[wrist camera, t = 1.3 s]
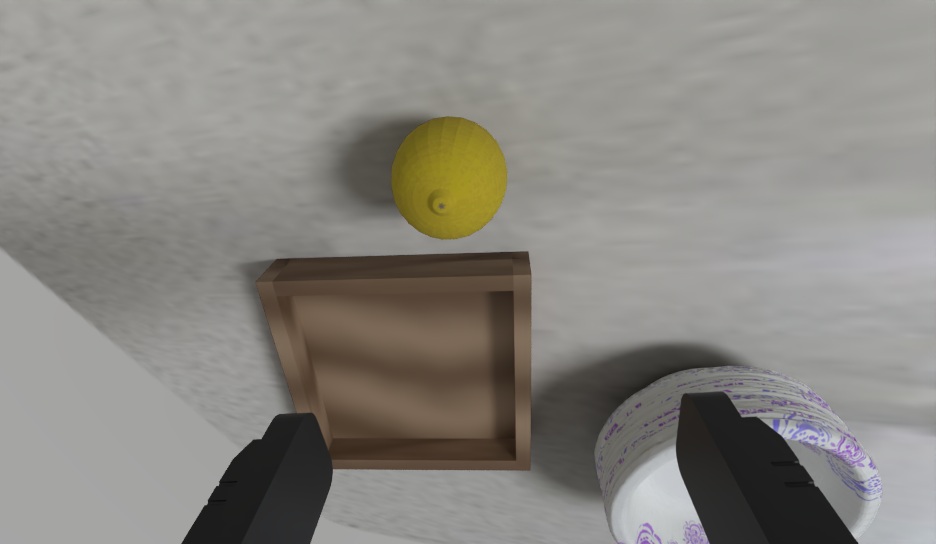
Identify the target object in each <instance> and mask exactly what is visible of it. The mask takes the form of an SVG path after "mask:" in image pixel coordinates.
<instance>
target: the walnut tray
mask: <svg viewBox="0 0 936 544" xmlns="http://www.w3.org/2000/svg"><path fill="white" fill-rule="evenodd" d="M256 285H257V289H258V292H259V295H260V298H261V301H262V304H263V308H264V311H265V314H266V317H267V320H268V323H269V327H270V330H271V333H272V336H273V339H274V342H275V346H276V349H277V352H278V355H279V358H280V361H281V365H282V368H283V371H284V374H285V377H286V380H287V384H288V387H289V390H290V393H291V396H292V399H293V403H294V406H295V409H296V412H297V413H313V414H314V415H315V416H316V418H317V421H318V423H319V426H320V429H321V432H322V434H323V437H324V440H325V442H326V445H327V448H328V451H329V453H330V456H331V459H332V466H333V469H389V470H530V450H531V268H530V261H529V254H528V252H500V253H466V254H433V255H399V256H365V257H332V258H298V259H277V260H276V261H275V262H274V263H273V264H272V265H271V266H270V267H269V268H268V269H267V270H266V271H265V272H264V273H263V275H262V276H261V277H260V278H259V279H258V280H257V281H256Z"/></svg>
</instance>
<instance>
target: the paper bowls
mask: <svg viewBox="0 0 936 544" xmlns="http://www.w3.org/2000/svg"><path fill="white" fill-rule="evenodd" d="M719 391H722V392H724V393H726V394H727V395H728V397H729V398H730V399H731V401H732V403H733V404H734V406H735V407H736V409H737V410H738V412H739V414H740V415H741V417H755V416H757V417H758V418H759V419H761V420H762V421H763V422H764V423H766V424H767V425H768V426H770V427H771V428H772V429H773V430H775V431H776V432H777V433H779V434H780V435H781V436H782V437H783V438H784V440H785V441H786V442H787V444H788V445H789V447H790V448H791V449H792V451H793V452H794V454H795V455H796V456H797V458H798V459H799V463H800V465H803V466H804V468H805V469H806V470H807V472H808V473H809V475H810V476H811V478H812V479H813V480H814V484H815V486H816V487H817V486H818V487H819V489H820V490H821V492H822V493H823V494H824V496H825V497H826V499H827V500H828V501H829V503H830V504H831V506H832V507H833V508H834V510H835V511H836V513H837V514H838V516H839V517H840V518H841V520H842V521H843V523H844V524H845V525H846V527H847V528H848V530H849V531H850V532H851V534H852V535H853V537H854V538H855V539H858V538H859V537H860V536H861V535H862V534H863V532H864V531H865V530H866V529H867V528H868V527H869V525H870V524H871V522H872V521H873V519H874V518H875V516H876V514H877V511H878V509H879V506H880V503H881V498H882V497H881V496H882V483H881V479H880V475H879V472H878V470H877V467H876V465H875V463H874V461H873V459H872V458H871V456H870V455H869V453H868V452H867V451H866V449H865V448H864V447H863V446H862V445H861V444H860V443H859V442H858V440H857V439H856V438H855V437H854V436H853V434H852V433H850V431H849V430H848V428H847V427H846V425H845V424H844V422H842V421H841V420H840V418H839V417H838V416H837V415H836V414H835V413H834V412H833V411H832V410H831V408H830V407H829V406H828V405H827V404H826V402H825V401H824V400H823V399H822V398H820V397H819V396H818V395H817V394H816V393H815V392H814V391H813V390H811V389H810V388H809V387H808V386H806V385H804V384H803V383H801V382H799V381H797V380H795V379H794V378H792V377H789V376H787V375H784V374H782V373H779V372H776V371H772V370H768V369H762V368H755V367H746V366H721V367H711V368H695V369H688V370H683V371H679V372H676V373H672V374H670V375H667V376H664V377H662V378H660V379H658V380H657V381H655V382H653V383H651V384H650V385H648V386H647V387H645V388H644V389H642V390H640V391H638V392H637V393H635V394H633V395H632V396H631V397H629V398H628V399H627V400H625V401H624V402H623V403H622V404H621V405H620V406H619V407H618V408H617V409H616V410H615V411H614V412H613V413H612V414H611V416H610V417H609V418H608V420H607V422H606V423H605V424H604V426H603V428H602V430H601V432H600V433H599V436H598V439H597V443H596V446H595V451H594V455H595V464H596V469H597V476H598V480H599V484H600V487H601V492H602V496H603V501H604V507H605V513H606V517H607V522H608V526H609V529H610V532H611V533H612V536H613V537H614V539H615V540H616V542H617V543H618V544H710V543H709V541H708V539H707V536H706V534H705V531H704V529H703V527H702V524H701V522H700V520H699V517H698V515H697V512H696V510H695V508H694V505H693V503H692V501H691V498H690V496H689V493H688V491H687V489H686V486H685V484H684V481H683V479H682V477H681V474H680V471H679V467H678V463H677V457H676V438H677V430H678V422H679V413H680V405H681V398H682V396H683V394H685V393H701V392H719Z"/></svg>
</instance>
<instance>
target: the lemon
mask: <svg viewBox="0 0 936 544" xmlns="http://www.w3.org/2000/svg"><path fill="white" fill-rule="evenodd" d="M391 186H392V191H393V196H394V200H395V203H396V205H397V207H398V209H399V211H400V213H401V214H402V216H403V217H404V218H405V219H406V220H407V222H408V223H409V224H410V225H412V226H413V227H414V228H415V229H417V230H418V231H419V232H421V233H423V234H426V235H428V236H430V237H434V238H439V239H458V238H462V237H465V236H469V235H471V234H473V233H474V232H476V231H478V230H480V229H481V228H482V227H483V226H485V225H486V224H487V223H488V222H489V221H490V220H491V219H492V218H493V216H494V215H495V213H496V212H497V210H498V209H499V207H500V205H501V203H502V200H503V197H504V194H505V191H506V186H507V168H506V163H505V159H504V155H503V153H502V151H501V149H500V147H499V145H498V143H497V141H496V140H495V139H494V138H493V137H492V136H491V134H490V133H489V132H488V131H487V130H485V129H484V128H482V127H481V126H480V125H478V124H477V123H475V122H472V121H470V120H467V119H464V118H459V117H441V118H436V119H432V120H430V121H428V122H426V123H424V124H421V125H419V126H418V127H417V128H416V129H414V130H413V131H412V132H411V133H410V134H409V135H408V136H407V137H406V138H405V140H404V141H403V142H402V144H401V145H400V147H399V148H398V150H397V153H396V156H395V159H394V162H393V165H392V176H391Z"/></svg>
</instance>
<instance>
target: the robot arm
mask: <svg viewBox="0 0 936 544" xmlns="http://www.w3.org/2000/svg"><path fill="white" fill-rule="evenodd" d="M676 457H677V463H678V467H679V471H680V474H681V477H682V479H683V481H684V484H685V486H686V489H687V491H688V493H689V496H690V498H691V501H692V503H693V505H694V508H695V510H696V512H697V515H698V517H699V520H700V522H701V524H702V527H703V529H704V531H705V534H706V536H707V539H708V541H709V543H710V544H858V542H857V541H856V539H855V538H854V537H853V535H852V534H851V532H850V531H849V530H848V528H847V527H846V525H845V524H844V523H843V521H842V520H841V518H840V517H839V516H838V514H837V513H836V511H835V510H834V508H833V507H832V506H831V504H830V503H829V501H828V500H827V499H826V497H825V496H824V494H823V493H822V492H821V490H820V489H819V487H818V486H817V487H816V486H815V484H814V480H813V479H812V478H811V476H810V475H809V473H808V472H807V470H806V469H805V468H804V466H803V465H800V463H799V459H798V458H797V456H796V455H795V454H794V452H793V451H792V449H791V448H790V447H789V445H788V444H787V442H786V441H785V440H784V438H783V437H782V436H781V435H780V434H779V433H777V432H776V431H775V430H773V429H772V428H771V427H770V426H768V425H767V424H766V423H764V422H763V421H762V420H761V419H759V418H758V417H757V416H755V417H741V415H740V414H739V412H738V410H737V409H736V407H735V406H734V404H733V403H732V401H731V399H730V398H729V397H728V395H727V394H726V393H724V392H722V391H719V392H701V393H685V394H683V396H682V398H681V405H680V413H679V422H678V430H677V438H676ZM332 475H333V466H332V459H331V456H330V453H329V451H328V448H327V445H326V442H325V440H324V437H323V434H322V432H321V429H320V426H319V423H318V421H317V418H316V416H315V415H314V414H313V413H292V414H279V415H277V416H275V418H274V419H273V420H272V422H271V423H270V425H269V427H268V429H267V430H266V432H265V434H264V436H263V437H262V439H257V440H253V441H252V442H251V443H249V444H248V445H247V446H246V447H245V448H244V449H243V450H242V451H241V452H240V453H239V454H238V455H237V456H236V457H235V458H234V459H233V460H232V462H231V464H230V465H229V467H228V468H227V470H226V471H225V473H224V475H223V476H222V478H221V480H220V481H219V483H220V484H219V486H216V488H215V489H214V491H213V493H212V494H211V496H210V498H209V499H208V504H207V505H205V506H204V507H203V509H202V511H201V513H200V514H199V516H198V517H197V519H196V521H195V522H194V524H193V525H192V527H191V529H190V530H189V532H188V534H187V535H186V537H185V539H184V540H183V542H182V544H310V542H311V539H312V537H313V534H314V531H315V528H316V526H317V523H318V520H319V517H320V515H321V512H322V509H323V506H324V503H325V501H326V498H327V495H328V492H329V490H330V486H331V482H332Z"/></svg>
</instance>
